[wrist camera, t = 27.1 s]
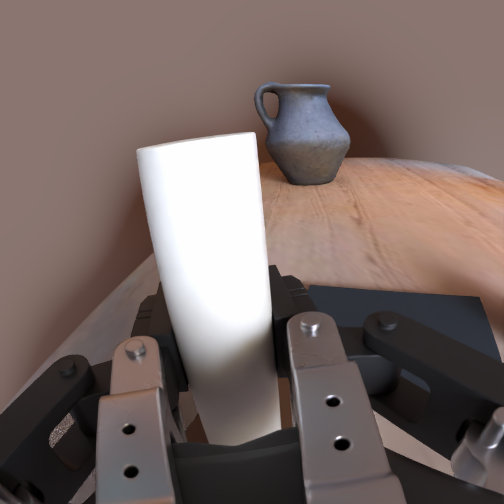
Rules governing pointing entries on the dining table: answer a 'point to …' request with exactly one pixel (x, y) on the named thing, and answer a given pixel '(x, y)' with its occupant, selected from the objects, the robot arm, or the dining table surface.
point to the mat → (411, 315)
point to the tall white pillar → (217, 282)
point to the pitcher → (303, 133)
